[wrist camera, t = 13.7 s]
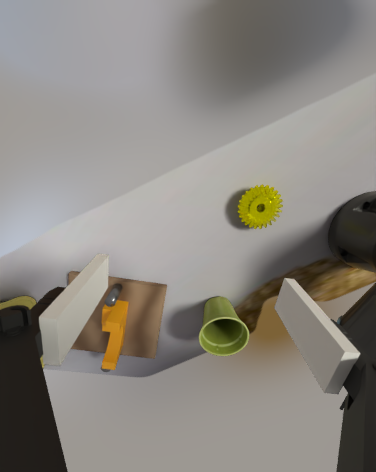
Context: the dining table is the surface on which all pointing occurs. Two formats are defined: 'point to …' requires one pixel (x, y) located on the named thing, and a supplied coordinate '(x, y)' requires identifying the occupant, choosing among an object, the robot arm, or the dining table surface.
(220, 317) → the plant pot
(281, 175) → the dining table surface
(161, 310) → the base plate
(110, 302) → the locating stubs
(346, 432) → the robot arm
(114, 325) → the pipe clamp
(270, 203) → the gear
